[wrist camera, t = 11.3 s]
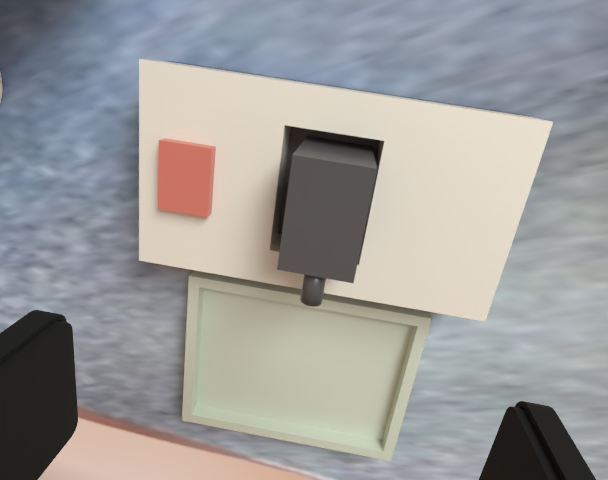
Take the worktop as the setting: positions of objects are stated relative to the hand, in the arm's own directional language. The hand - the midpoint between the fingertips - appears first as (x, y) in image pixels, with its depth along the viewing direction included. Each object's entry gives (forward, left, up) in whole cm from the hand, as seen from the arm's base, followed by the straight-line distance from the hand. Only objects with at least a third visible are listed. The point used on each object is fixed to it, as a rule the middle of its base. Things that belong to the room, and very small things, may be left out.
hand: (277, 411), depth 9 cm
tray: (0, +15, -22) cm, 27 cm away
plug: (0, +1, -20) cm, 20 cm away
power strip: (0, 0, -22) cm, 22 cm away
